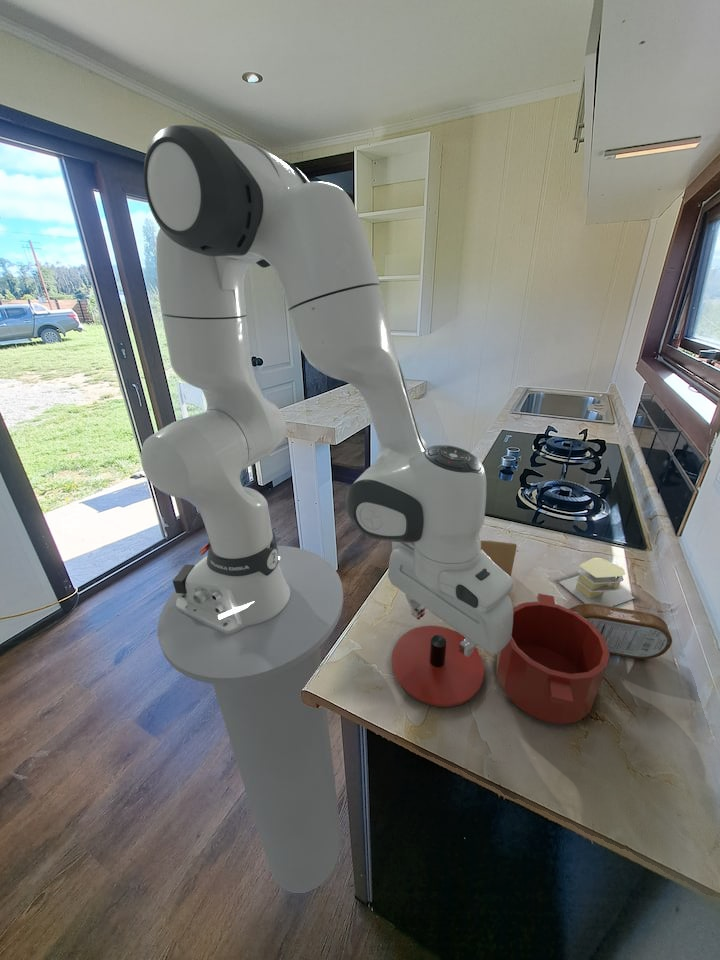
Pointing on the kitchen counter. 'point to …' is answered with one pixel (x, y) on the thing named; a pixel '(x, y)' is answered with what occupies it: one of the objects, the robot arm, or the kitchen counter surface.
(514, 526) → the kitchen counter surface
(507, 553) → the sandwich container
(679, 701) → the kitchen counter surface
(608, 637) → the tin
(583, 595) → the stacked layers on plate
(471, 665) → the lid
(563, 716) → the pot
